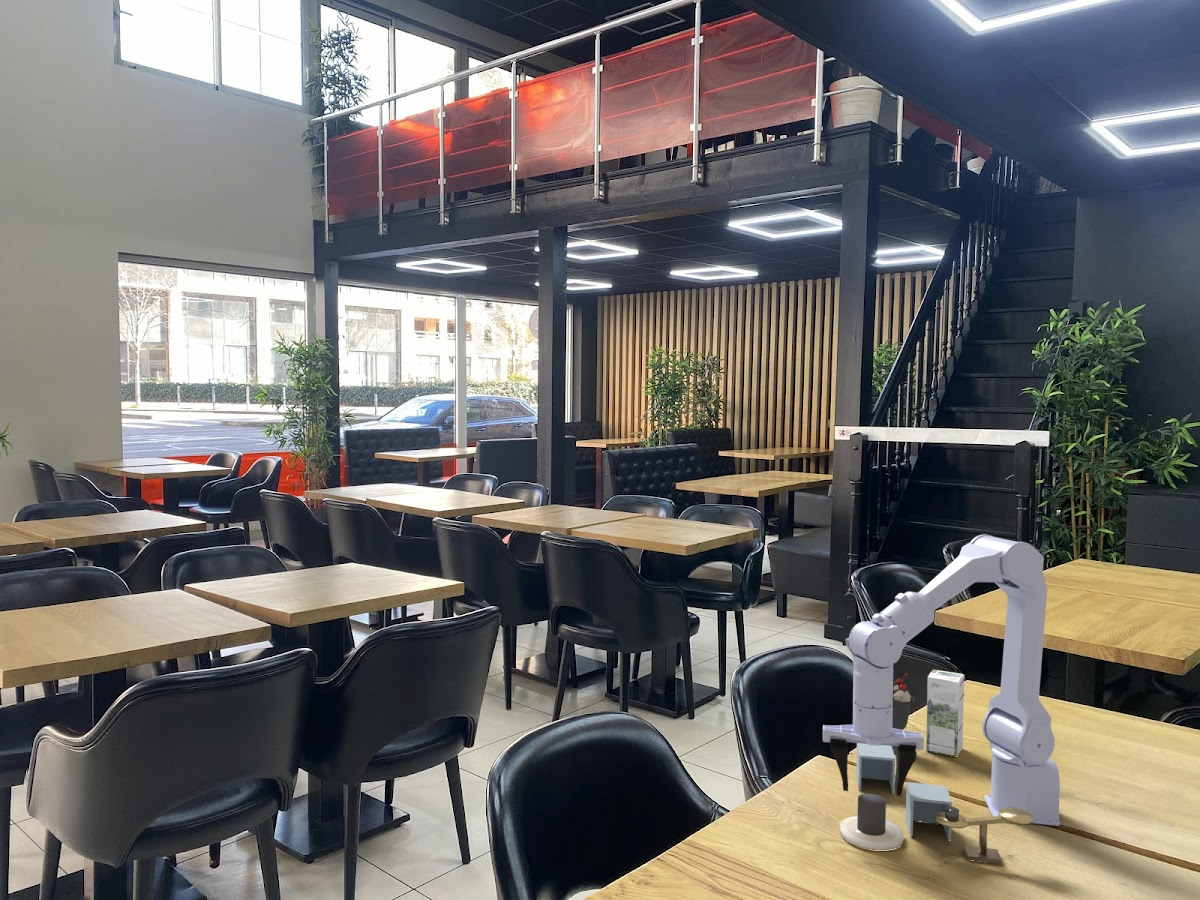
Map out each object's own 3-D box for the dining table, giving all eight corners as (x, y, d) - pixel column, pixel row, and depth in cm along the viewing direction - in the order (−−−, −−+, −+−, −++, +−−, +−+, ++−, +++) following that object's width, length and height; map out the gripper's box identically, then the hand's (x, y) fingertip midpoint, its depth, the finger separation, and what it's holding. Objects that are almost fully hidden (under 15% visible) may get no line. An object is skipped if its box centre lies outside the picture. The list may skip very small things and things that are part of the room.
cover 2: (944, 824, 132) (945, 785, 131) (950, 841, 126) (951, 802, 126) (905, 819, 133) (906, 781, 133) (910, 837, 127) (911, 797, 127)
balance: (1027, 855, 122) (1028, 809, 122) (1035, 871, 118) (1037, 823, 118) (932, 844, 125) (933, 799, 125) (937, 859, 121) (938, 812, 121)
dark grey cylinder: (884, 824, 129) (884, 795, 129) (886, 837, 125) (887, 807, 125) (856, 821, 130) (857, 792, 130) (857, 833, 126) (858, 803, 126)
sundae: (916, 758, 157) (918, 677, 156) (878, 754, 158) (880, 675, 158) (911, 744, 163) (912, 667, 163) (874, 741, 165) (876, 664, 164)
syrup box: (963, 748, 162) (965, 672, 161) (957, 758, 157) (959, 681, 156) (931, 742, 165) (933, 667, 164) (925, 752, 160) (926, 675, 159)
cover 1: (890, 779, 147) (891, 745, 147) (894, 794, 142) (895, 758, 142) (856, 776, 149) (857, 742, 148) (858, 790, 143) (859, 755, 143)
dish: (899, 825, 131) (899, 819, 131) (906, 855, 122) (906, 847, 122) (838, 819, 133) (838, 812, 133) (841, 847, 124) (841, 840, 124)
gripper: (824, 707, 127) (823, 797, 128) (927, 715, 124) (925, 807, 124) (822, 692, 134) (821, 777, 134) (920, 699, 131) (919, 786, 131)
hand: (871, 790), depth 130 cm, fingers open, 7 cm apart
